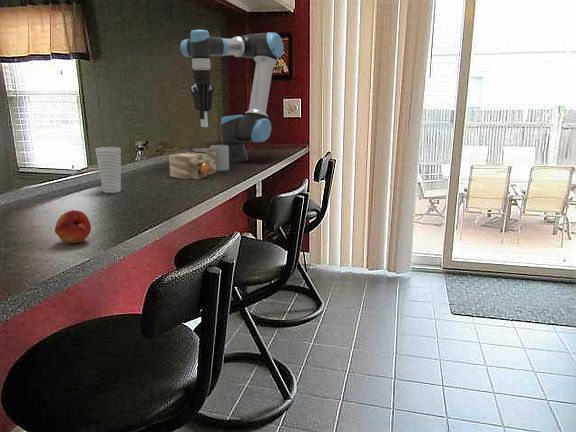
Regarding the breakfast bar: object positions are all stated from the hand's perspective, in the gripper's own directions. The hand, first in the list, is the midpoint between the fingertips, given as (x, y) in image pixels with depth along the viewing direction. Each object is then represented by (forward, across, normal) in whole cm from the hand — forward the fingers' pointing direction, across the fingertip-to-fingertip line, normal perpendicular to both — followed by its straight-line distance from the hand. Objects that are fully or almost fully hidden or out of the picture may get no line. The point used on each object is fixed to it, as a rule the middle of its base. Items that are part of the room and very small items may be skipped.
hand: (204, 126), depth 201 cm
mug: (+21, -10, -3) cm, 23 cm away
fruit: (+19, +91, +40) cm, 101 cm away
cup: (+20, +48, -2) cm, 52 cm away
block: (+20, +6, 0) cm, 21 cm away
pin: (+19, +10, +1) cm, 21 cm away
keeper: (+11, +1, -1) cm, 11 cm away
